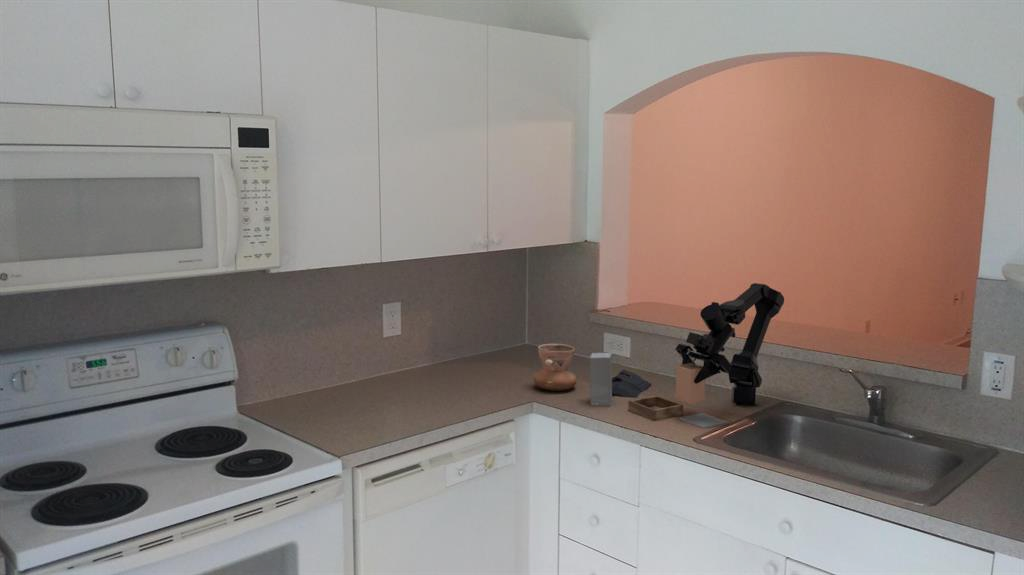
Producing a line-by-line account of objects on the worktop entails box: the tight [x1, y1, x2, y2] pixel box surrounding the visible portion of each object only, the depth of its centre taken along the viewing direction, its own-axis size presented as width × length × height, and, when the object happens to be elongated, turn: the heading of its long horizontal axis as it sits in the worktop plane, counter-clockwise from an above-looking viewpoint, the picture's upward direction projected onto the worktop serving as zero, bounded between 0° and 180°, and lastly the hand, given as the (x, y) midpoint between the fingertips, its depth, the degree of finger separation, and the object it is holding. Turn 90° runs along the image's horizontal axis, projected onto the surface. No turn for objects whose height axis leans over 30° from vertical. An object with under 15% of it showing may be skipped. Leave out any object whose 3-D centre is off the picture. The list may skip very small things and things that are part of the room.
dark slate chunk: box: [612, 369, 652, 399], centre depth 270 cm, size 15×22×5 cm
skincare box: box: [589, 352, 613, 407], centre depth 253 cm, size 8×7×16 cm
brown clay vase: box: [533, 343, 578, 392], centre depth 270 cm, size 18×14×14 cm
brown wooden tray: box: [627, 395, 684, 422], centre depth 243 cm, size 12×12×4 cm
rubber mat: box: [678, 412, 729, 429], centre depth 236 cm, size 10×10×1 cm
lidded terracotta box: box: [674, 363, 707, 405], centre depth 236 cm, size 6×6×10 cm
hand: (687, 380), depth 236 cm, fingers closed on lidded terracotta box, 6 cm apart
